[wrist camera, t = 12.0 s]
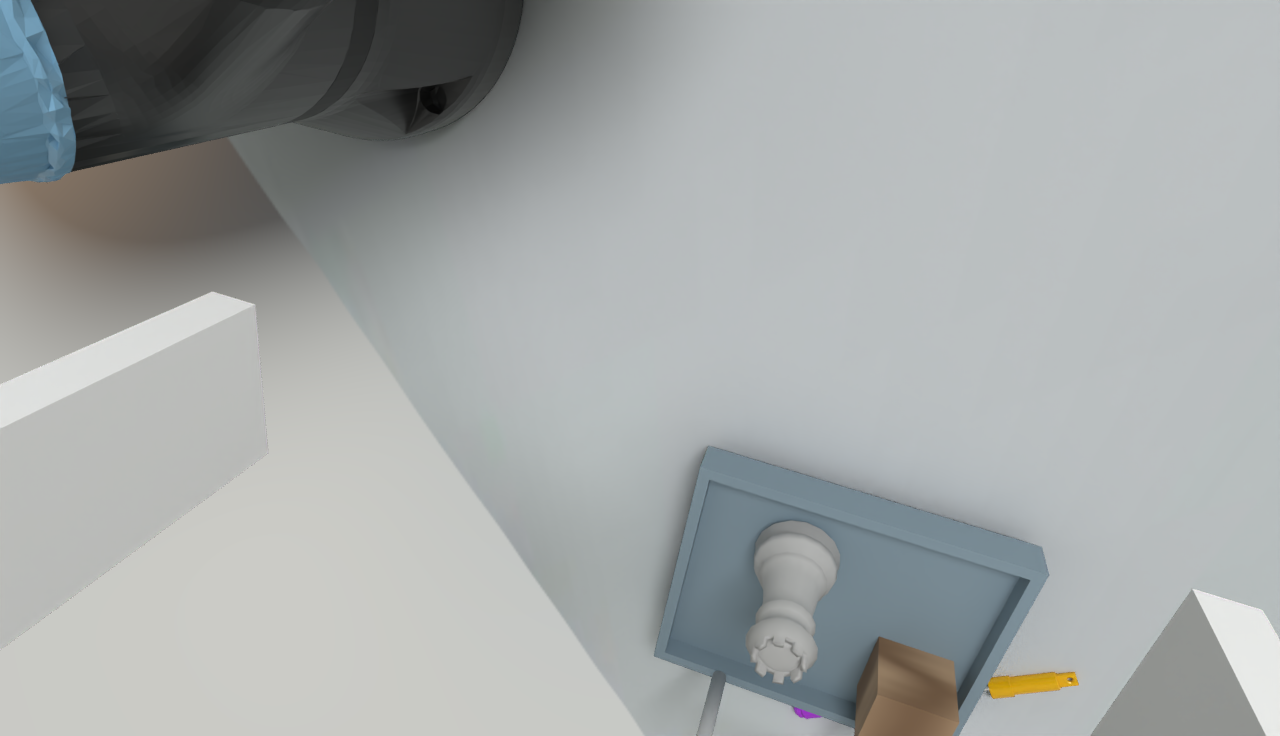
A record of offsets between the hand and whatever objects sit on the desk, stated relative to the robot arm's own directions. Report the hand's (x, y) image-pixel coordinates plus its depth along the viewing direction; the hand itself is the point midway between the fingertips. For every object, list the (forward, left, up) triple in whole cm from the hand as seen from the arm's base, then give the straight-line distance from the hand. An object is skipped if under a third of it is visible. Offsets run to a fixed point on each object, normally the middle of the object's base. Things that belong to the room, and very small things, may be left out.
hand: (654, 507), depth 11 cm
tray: (+7, -23, -27) cm, 36 cm away
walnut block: (+12, -26, -25) cm, 38 cm away
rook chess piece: (+5, -20, -25) cm, 32 cm away
